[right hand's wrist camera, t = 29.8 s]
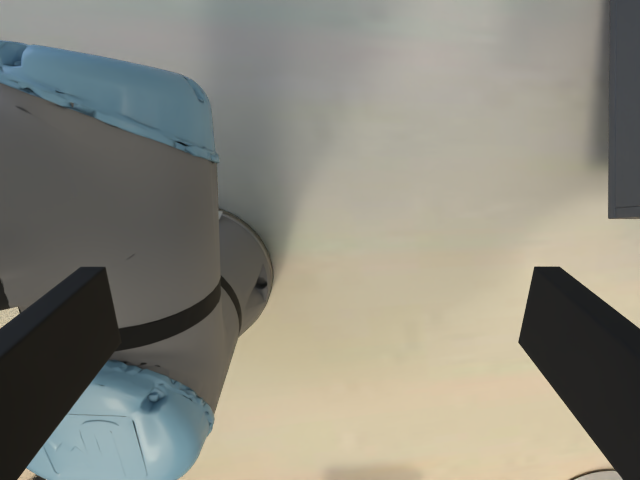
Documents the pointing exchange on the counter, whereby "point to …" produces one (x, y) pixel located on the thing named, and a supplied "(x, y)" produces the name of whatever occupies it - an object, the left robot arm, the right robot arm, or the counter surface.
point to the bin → (624, 110)
